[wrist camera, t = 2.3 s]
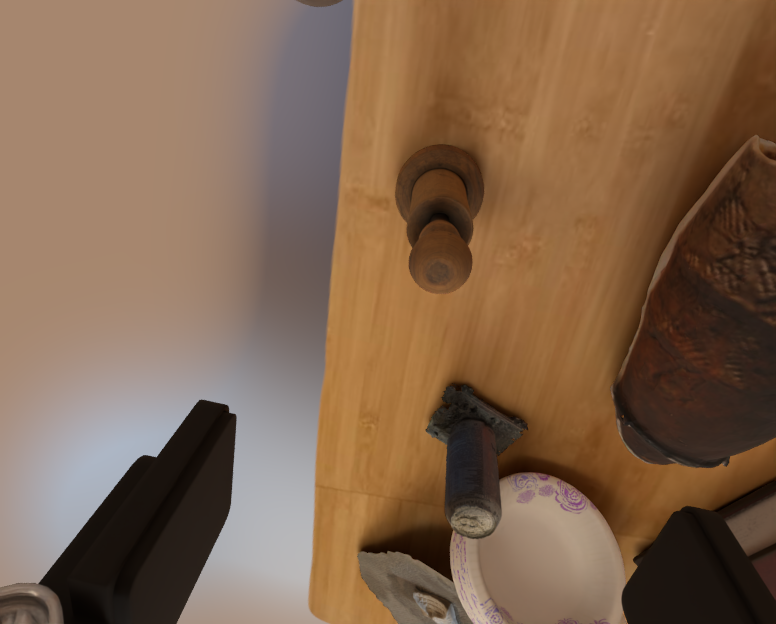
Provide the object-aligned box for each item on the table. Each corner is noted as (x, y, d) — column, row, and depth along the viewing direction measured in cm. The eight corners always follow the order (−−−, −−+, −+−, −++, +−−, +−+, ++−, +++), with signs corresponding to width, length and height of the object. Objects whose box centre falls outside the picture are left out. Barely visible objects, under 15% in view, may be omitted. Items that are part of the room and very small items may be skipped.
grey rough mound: (367, 601, 65) (494, 587, 66) (372, 725, 55) (523, 706, 55) (350, 523, 53) (506, 505, 53) (353, 662, 43) (546, 639, 43)
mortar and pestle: (419, 241, 40) (407, 355, 24) (382, 169, 38) (341, 242, 22) (495, 205, 38) (536, 303, 22) (460, 127, 36) (479, 174, 20)
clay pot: (581, 514, 36) (881, 221, 21) (536, 365, 48) (704, 110, 33) (753, 543, 38) (1138, 298, 23) (669, 393, 50) (884, 168, 35)
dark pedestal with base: (417, 434, 49) (411, 536, 38) (450, 376, 46) (454, 470, 35) (498, 465, 50) (515, 573, 39) (537, 410, 46) (566, 512, 36)
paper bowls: (554, 479, 55) (593, 462, 48) (603, 638, 48) (657, 644, 41) (426, 496, 51) (449, 480, 45) (458, 673, 44) (492, 685, 37)
